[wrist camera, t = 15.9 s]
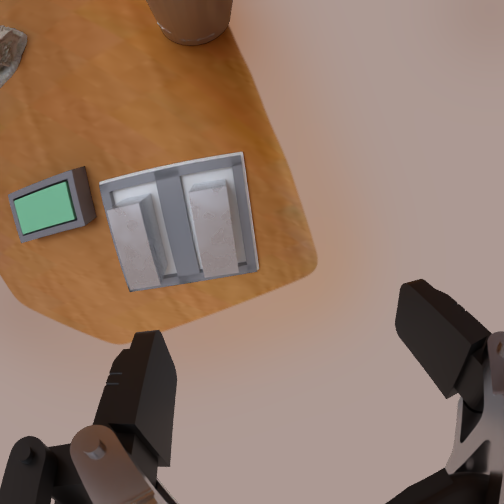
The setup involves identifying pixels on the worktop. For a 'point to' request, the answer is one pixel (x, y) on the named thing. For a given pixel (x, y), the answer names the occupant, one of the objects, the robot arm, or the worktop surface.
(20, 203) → the button
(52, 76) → the worktop surface
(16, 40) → the ceramic cottage
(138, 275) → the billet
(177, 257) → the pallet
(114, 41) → the worktop surface
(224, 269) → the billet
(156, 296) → the worktop surface
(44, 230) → the box
